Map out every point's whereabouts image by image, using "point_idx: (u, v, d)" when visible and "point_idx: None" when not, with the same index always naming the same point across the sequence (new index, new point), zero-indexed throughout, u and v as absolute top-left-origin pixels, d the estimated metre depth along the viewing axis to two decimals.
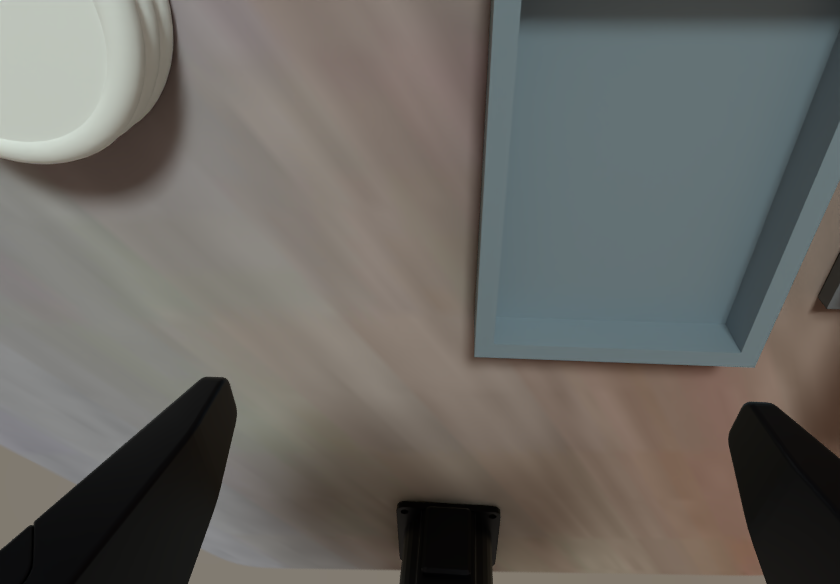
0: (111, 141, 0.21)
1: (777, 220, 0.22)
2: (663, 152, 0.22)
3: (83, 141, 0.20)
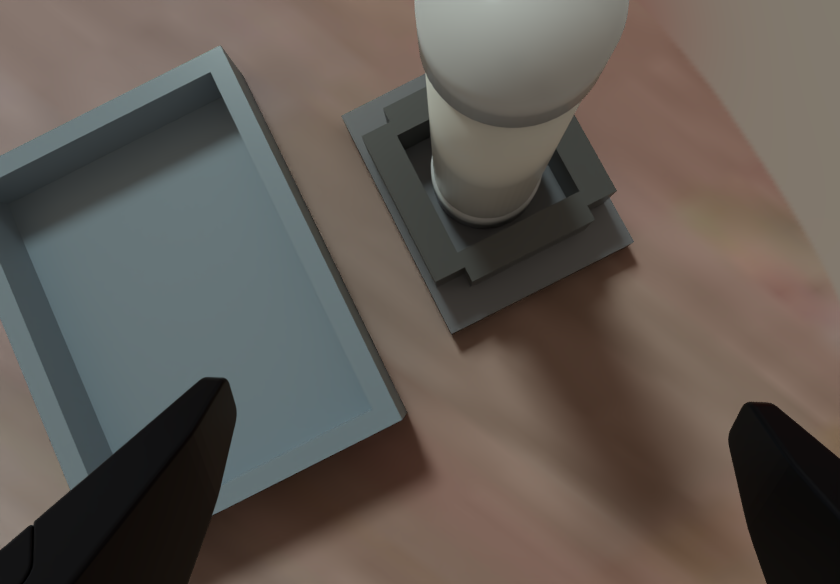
0: None
1: None
2: (192, 274, 0.24)
3: None
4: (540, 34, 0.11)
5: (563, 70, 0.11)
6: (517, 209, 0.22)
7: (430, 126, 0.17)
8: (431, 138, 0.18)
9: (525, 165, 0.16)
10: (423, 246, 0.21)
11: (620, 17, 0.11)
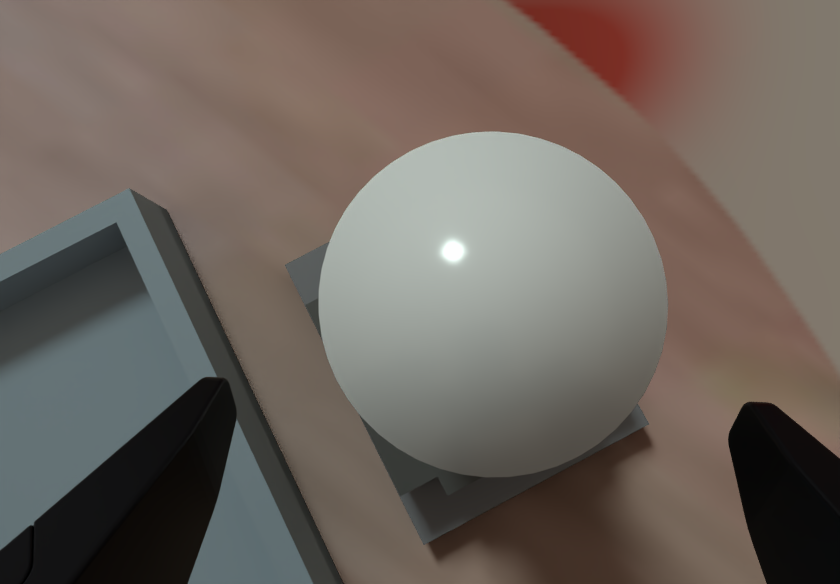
0: None
1: None
2: None
3: None
4: (524, 360, 0.07)
5: (563, 423, 0.07)
6: None
7: None
8: None
9: None
10: (384, 449, 0.17)
11: (655, 332, 0.07)
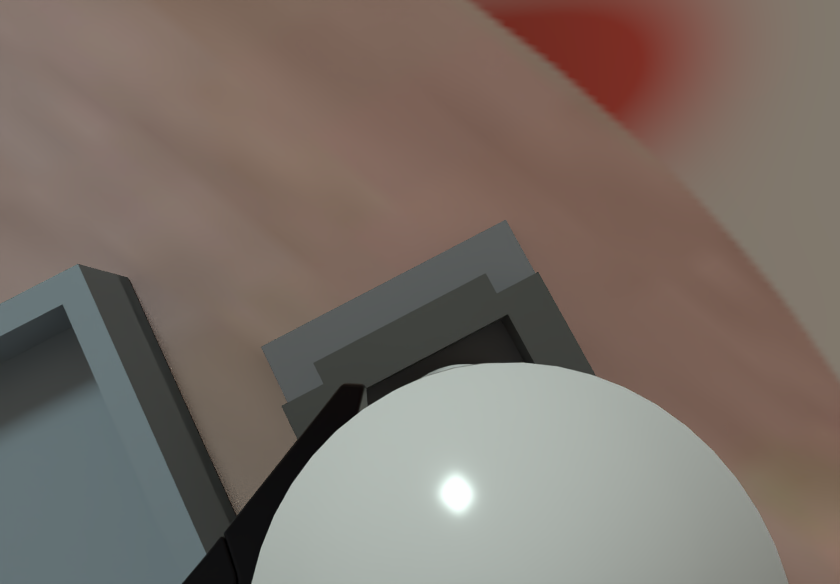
0: None
1: None
2: (46, 581, 0.17)
3: None
4: None
5: None
6: None
7: None
8: None
9: None
10: None
11: None
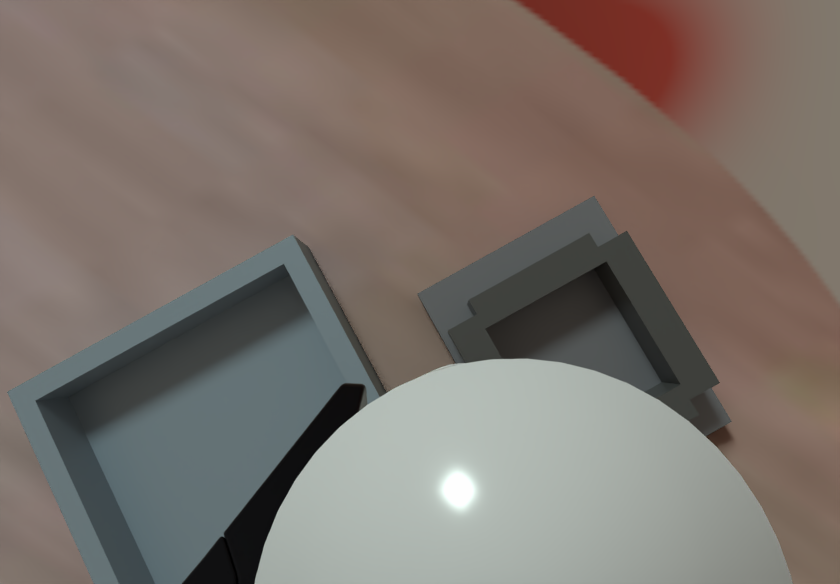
0: None
1: None
2: (268, 468, 0.23)
3: None
4: None
5: None
6: None
7: None
8: None
9: None
10: None
11: None
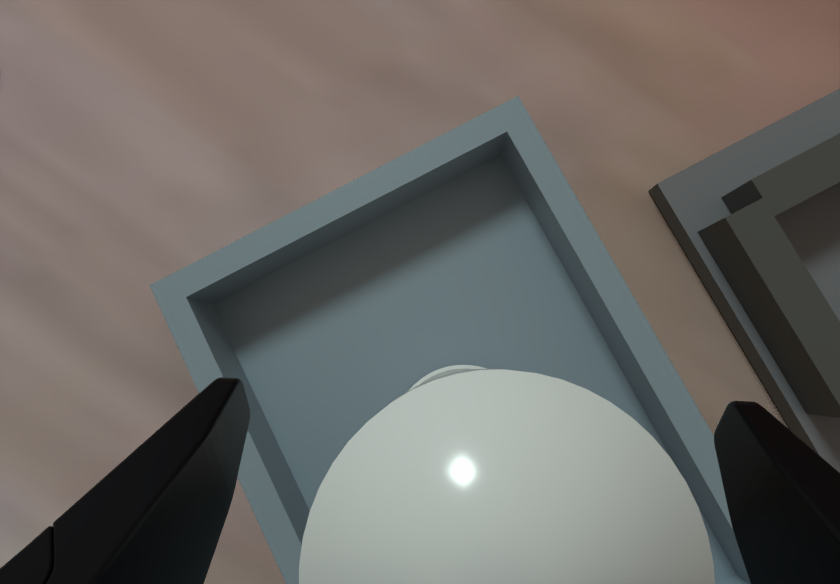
0: None
1: (645, 398, 0.17)
2: None
3: None
4: None
5: None
6: None
7: None
8: None
9: None
10: (825, 369, 0.16)
11: None
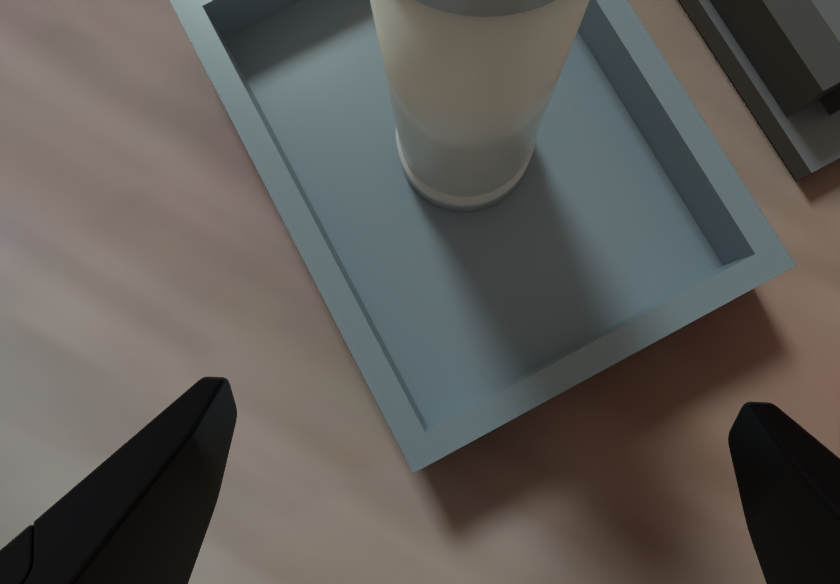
0: None
1: (634, 100, 0.18)
2: None
3: None
4: None
5: None
6: (506, 184, 0.17)
7: (382, 59, 0.12)
8: (387, 81, 0.13)
9: (513, 104, 0.11)
10: (802, 48, 0.17)
11: None
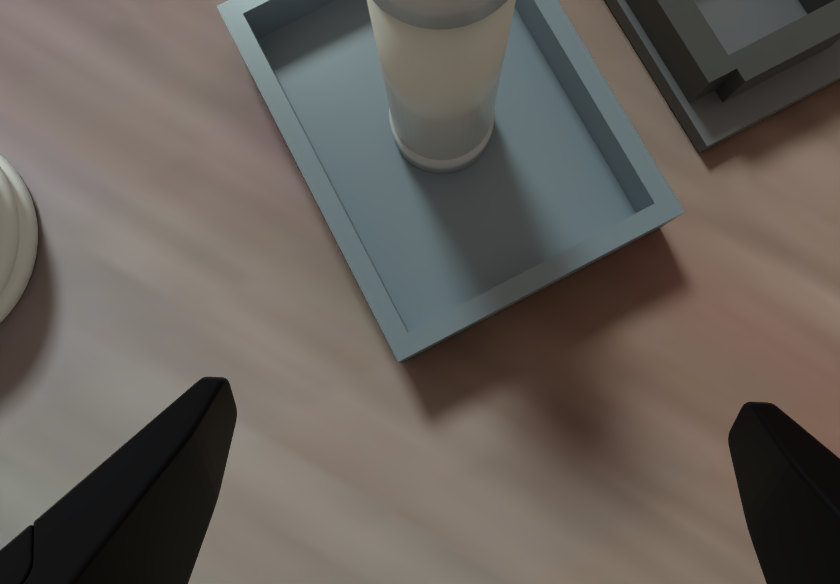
0: None
1: (572, 89, 0.24)
2: None
3: None
4: None
5: None
6: (471, 151, 0.23)
7: (378, 55, 0.18)
8: None
9: (465, 85, 0.17)
10: (694, 50, 0.22)
11: None
